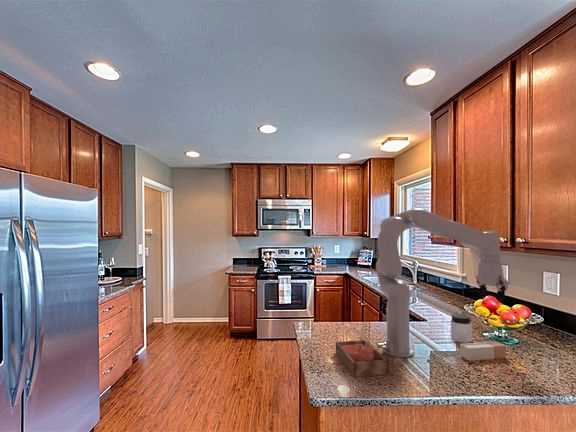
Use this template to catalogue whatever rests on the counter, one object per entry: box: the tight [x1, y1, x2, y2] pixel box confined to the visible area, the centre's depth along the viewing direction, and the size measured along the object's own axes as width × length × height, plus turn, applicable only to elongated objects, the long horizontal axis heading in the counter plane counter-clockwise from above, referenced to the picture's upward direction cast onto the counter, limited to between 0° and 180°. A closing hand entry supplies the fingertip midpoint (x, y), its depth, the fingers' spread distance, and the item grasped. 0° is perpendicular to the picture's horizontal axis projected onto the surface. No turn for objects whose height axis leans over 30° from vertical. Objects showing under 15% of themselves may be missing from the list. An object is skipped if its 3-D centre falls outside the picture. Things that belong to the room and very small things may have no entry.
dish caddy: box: [335, 339, 389, 378], centre depth 128 cm, size 14×23×5 cm, turn 8°
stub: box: [485, 340, 507, 360], centre depth 133 cm, size 5×5×5 cm
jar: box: [450, 313, 473, 344], centre depth 153 cm, size 9×8×12 cm
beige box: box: [459, 341, 496, 361], centre depth 132 cm, size 12×5×5 cm, turn 98°
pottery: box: [342, 342, 374, 362], centre depth 128 cm, size 18×10×10 cm, turn 13°
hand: (492, 297), depth 139 cm, fingers open, 9 cm apart
